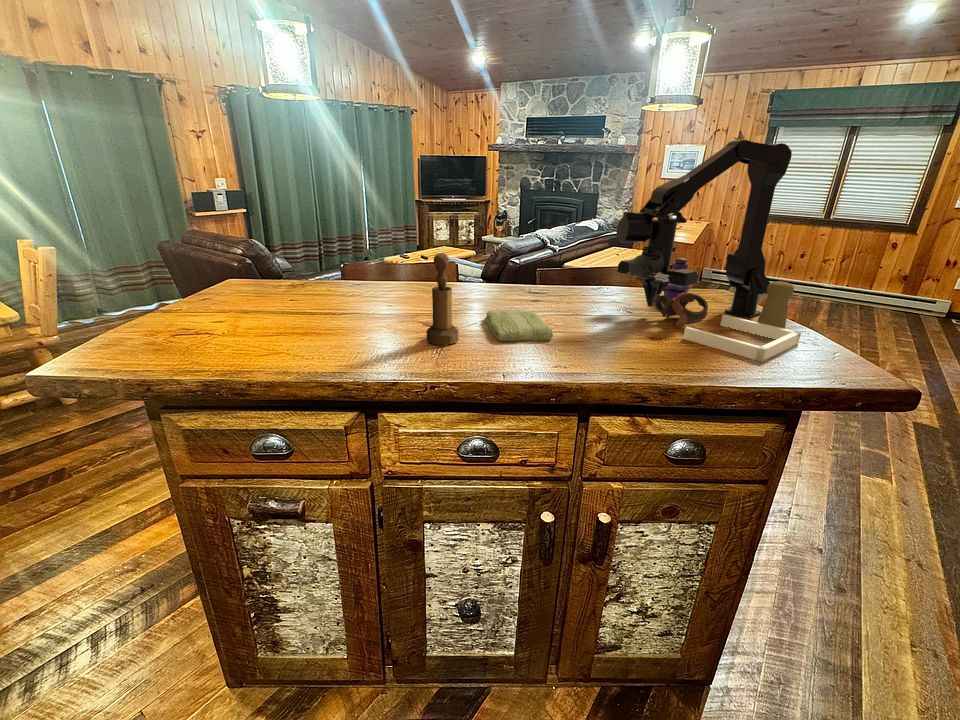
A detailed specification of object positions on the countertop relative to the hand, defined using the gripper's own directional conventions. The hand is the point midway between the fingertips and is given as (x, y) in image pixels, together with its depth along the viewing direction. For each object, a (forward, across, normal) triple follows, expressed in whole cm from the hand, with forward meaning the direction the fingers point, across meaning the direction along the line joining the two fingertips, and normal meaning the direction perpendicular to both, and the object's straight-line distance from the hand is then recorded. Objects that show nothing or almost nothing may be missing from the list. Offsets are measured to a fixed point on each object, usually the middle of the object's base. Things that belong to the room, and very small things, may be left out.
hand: (650, 306), depth 116 cm
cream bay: (+2, +22, 0) cm, 22 cm away
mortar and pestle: (+3, -14, -52) cm, 54 cm away
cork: (+3, +22, +15) cm, 27 cm away
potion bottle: (+3, -5, +19) cm, 20 cm away
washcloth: (+3, -11, -34) cm, 36 cm away
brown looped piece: (+3, +7, +2) cm, 8 cm away
